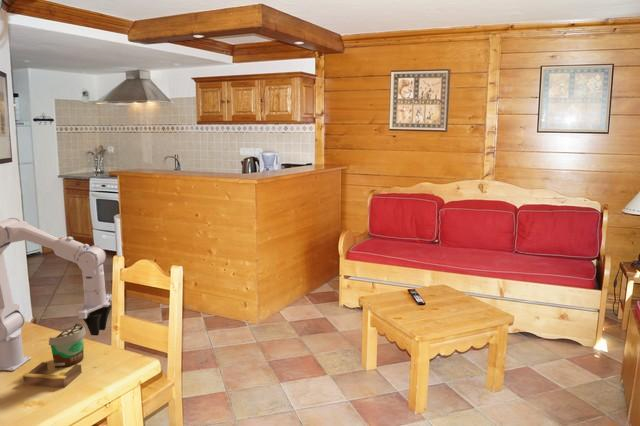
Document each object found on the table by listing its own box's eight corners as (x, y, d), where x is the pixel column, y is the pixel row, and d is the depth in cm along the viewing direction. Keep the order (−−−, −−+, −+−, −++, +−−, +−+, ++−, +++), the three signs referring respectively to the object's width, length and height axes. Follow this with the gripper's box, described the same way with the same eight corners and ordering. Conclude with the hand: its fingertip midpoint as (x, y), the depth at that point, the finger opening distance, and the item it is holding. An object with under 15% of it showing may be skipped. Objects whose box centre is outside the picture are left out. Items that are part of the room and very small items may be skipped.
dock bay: (24, 384, 140) (22, 375, 139) (43, 370, 148) (42, 361, 147) (64, 387, 138) (63, 378, 138) (81, 372, 146) (80, 363, 146)
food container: (70, 372, 146) (66, 340, 144) (51, 370, 148) (48, 338, 146) (96, 353, 158) (93, 323, 156) (79, 351, 159) (76, 321, 158)
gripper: (93, 298, 139) (97, 343, 141) (120, 280, 153) (123, 322, 156) (69, 296, 140) (74, 342, 142) (98, 279, 154) (101, 321, 156)
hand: (98, 332), depth 149 cm, fingers open, 3 cm apart
